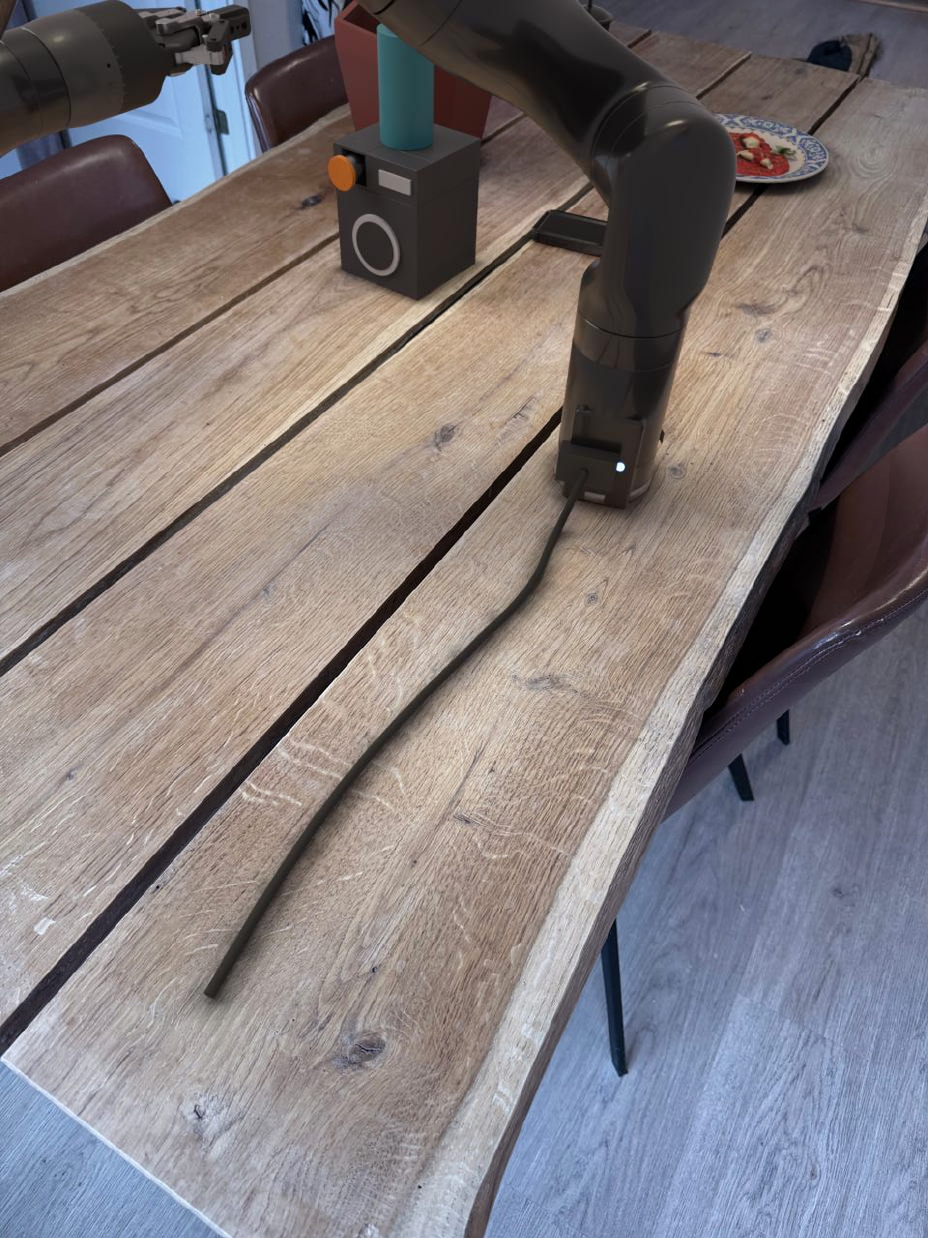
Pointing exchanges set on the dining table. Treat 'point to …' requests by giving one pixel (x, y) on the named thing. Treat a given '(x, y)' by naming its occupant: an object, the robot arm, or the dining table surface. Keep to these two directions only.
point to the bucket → (359, 68)
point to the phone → (570, 231)
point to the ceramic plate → (773, 150)
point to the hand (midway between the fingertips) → (244, 18)
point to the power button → (347, 170)
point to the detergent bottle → (404, 93)
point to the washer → (410, 210)
